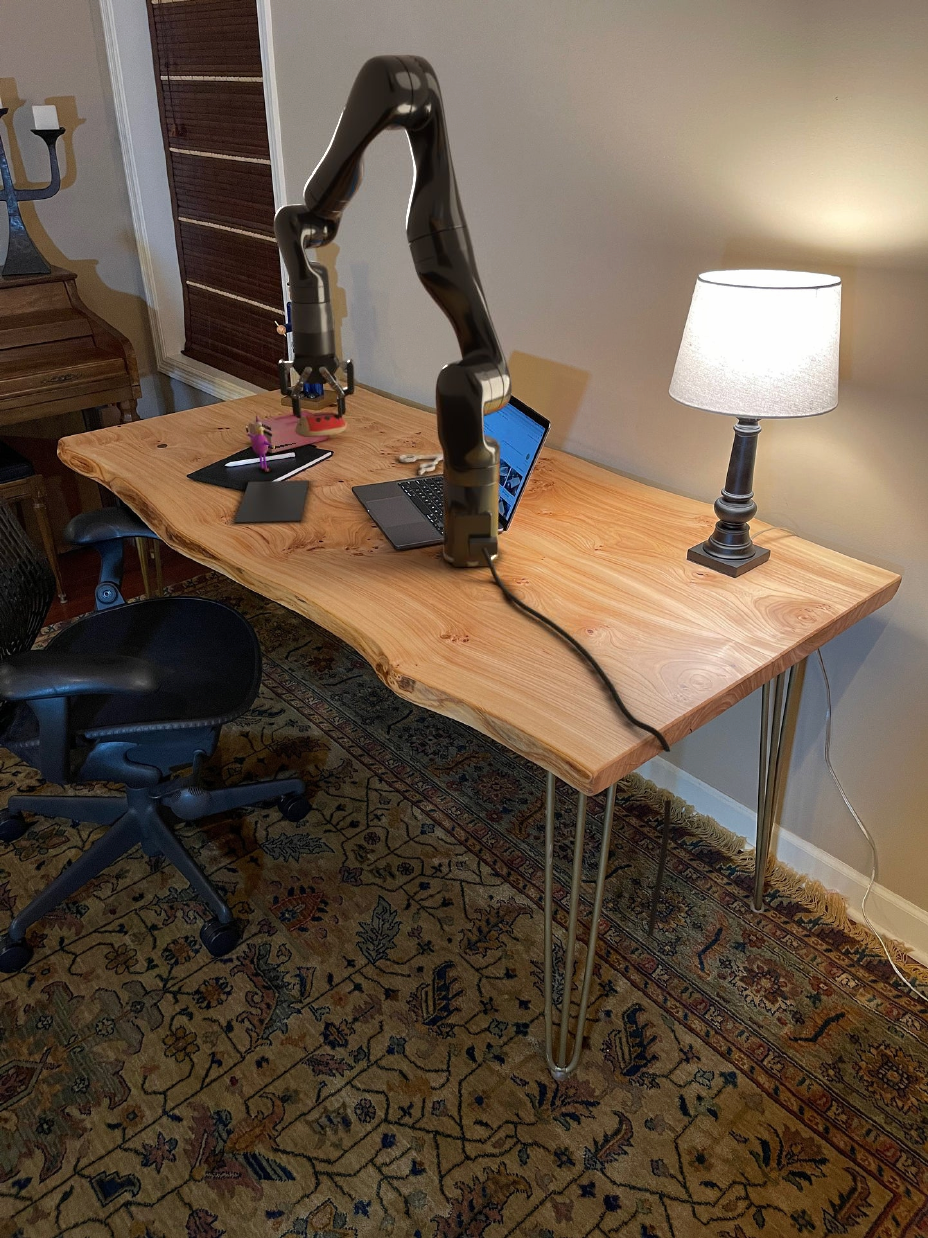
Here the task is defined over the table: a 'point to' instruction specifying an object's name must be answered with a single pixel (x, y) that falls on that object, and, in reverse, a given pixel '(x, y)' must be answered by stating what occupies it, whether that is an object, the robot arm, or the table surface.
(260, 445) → the wizard figurine
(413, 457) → the scissors
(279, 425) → the popsicle
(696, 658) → the table surface
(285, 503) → the desk pad
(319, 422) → the ladybug figurine
